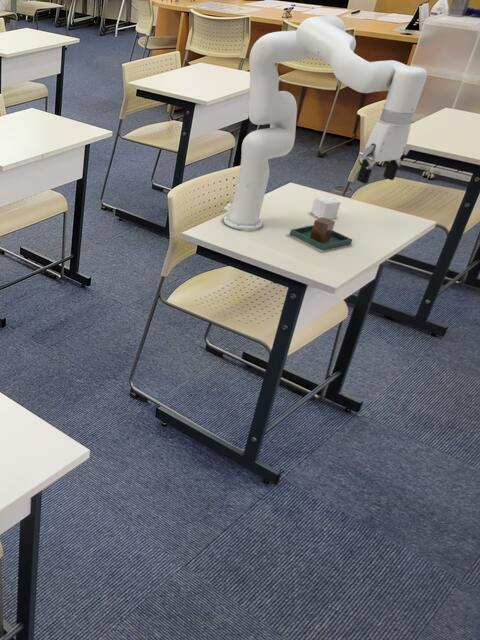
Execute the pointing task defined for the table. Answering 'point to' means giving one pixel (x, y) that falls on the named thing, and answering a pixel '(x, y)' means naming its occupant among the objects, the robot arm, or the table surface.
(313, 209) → the white cube
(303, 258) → the table surface
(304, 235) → the tray
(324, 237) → the block
